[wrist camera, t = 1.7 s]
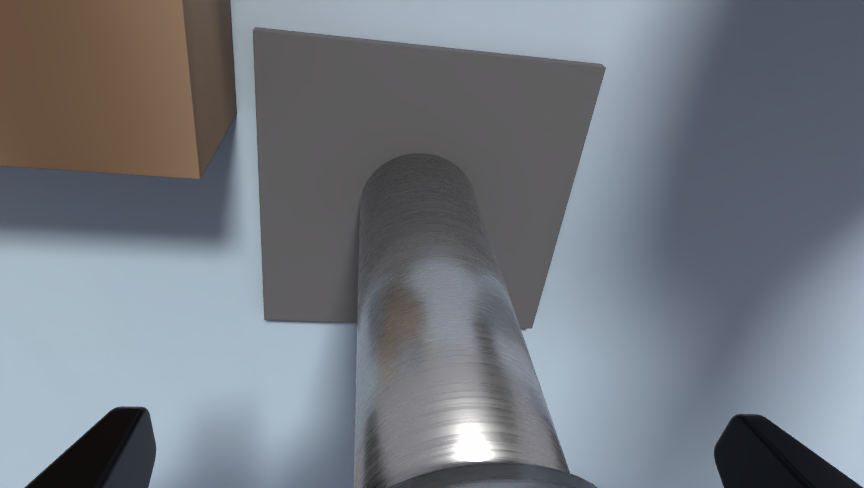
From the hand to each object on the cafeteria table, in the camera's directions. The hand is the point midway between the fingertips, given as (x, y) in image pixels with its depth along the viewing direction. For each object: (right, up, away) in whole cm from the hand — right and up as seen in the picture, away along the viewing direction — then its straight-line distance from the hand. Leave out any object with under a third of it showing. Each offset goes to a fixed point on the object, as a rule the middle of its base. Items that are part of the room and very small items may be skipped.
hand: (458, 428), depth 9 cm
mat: (-1, +4, +6) cm, 8 cm away
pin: (-1, +4, +6) cm, 7 cm away
